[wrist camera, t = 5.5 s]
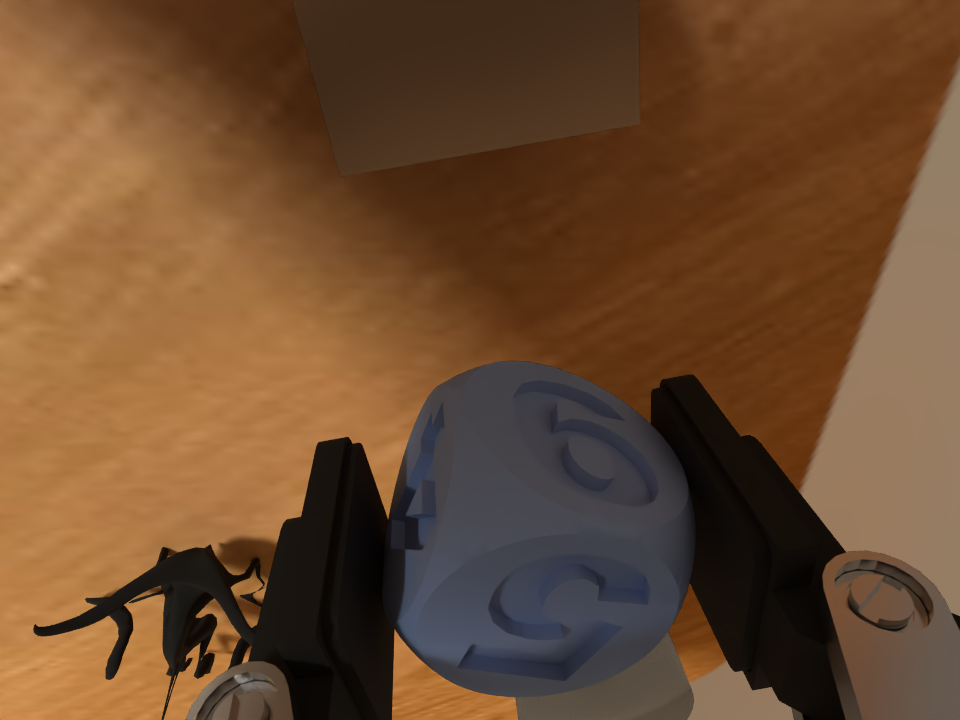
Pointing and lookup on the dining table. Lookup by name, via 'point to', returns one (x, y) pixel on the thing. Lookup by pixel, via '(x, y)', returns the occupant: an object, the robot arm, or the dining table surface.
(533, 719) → the dark metal cylinder
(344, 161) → the walnut block
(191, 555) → the creature
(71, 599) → the dining table surface
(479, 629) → the decorative dice
